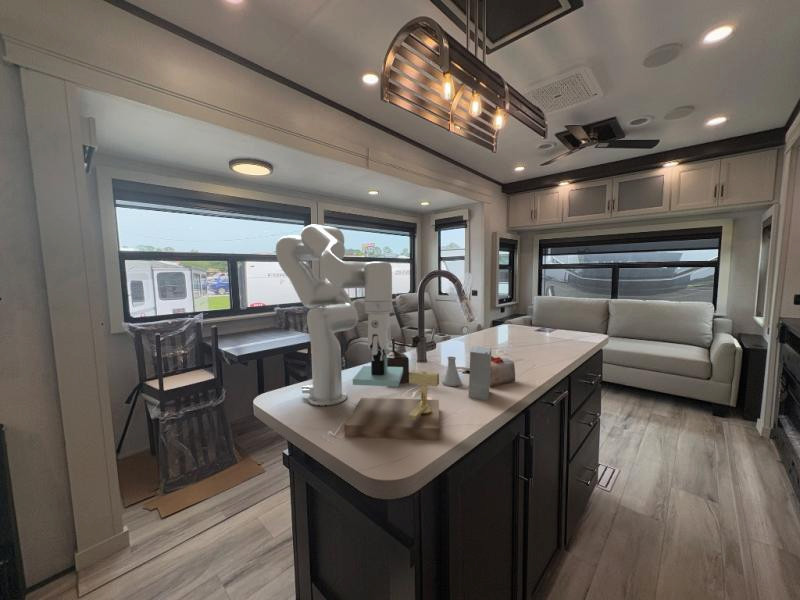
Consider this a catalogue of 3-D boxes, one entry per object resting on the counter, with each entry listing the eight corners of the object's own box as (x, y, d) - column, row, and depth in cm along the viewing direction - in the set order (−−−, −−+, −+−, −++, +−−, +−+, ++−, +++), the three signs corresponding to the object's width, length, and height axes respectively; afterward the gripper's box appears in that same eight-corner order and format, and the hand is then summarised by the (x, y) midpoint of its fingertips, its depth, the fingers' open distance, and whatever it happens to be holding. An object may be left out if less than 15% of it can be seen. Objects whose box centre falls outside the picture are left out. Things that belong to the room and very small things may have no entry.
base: (344, 436, 79) (344, 424, 79) (361, 407, 97) (361, 397, 97) (439, 440, 76) (439, 428, 76) (438, 409, 94) (438, 399, 94)
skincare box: (471, 389, 111) (470, 345, 110) (492, 391, 108) (492, 346, 107) (467, 398, 103) (467, 350, 102) (490, 400, 100) (490, 352, 99)
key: (427, 428, 76) (426, 385, 75) (397, 422, 79) (396, 381, 78) (440, 410, 86) (440, 372, 85) (413, 406, 89) (412, 369, 88)
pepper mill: (383, 385, 117) (382, 338, 116) (379, 376, 128) (378, 333, 126) (423, 381, 120) (422, 335, 119) (415, 373, 131) (415, 331, 130)
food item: (489, 389, 111) (489, 362, 110) (474, 382, 118) (474, 357, 117) (517, 382, 117) (517, 356, 116) (501, 377, 124) (501, 352, 123)
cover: (352, 384, 82) (352, 360, 81) (363, 370, 93) (363, 349, 93) (398, 386, 80) (398, 361, 80) (403, 372, 92) (403, 350, 91)
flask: (461, 387, 113) (461, 360, 113) (441, 386, 115) (441, 359, 114) (461, 380, 120) (461, 355, 120) (442, 380, 122) (442, 354, 121)
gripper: (387, 310, 77) (388, 383, 78) (396, 304, 93) (396, 364, 94) (357, 310, 78) (358, 382, 79) (371, 304, 94) (372, 364, 95)
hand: (379, 372), depth 87 cm, fingers closed on cover, 3 cm apart
